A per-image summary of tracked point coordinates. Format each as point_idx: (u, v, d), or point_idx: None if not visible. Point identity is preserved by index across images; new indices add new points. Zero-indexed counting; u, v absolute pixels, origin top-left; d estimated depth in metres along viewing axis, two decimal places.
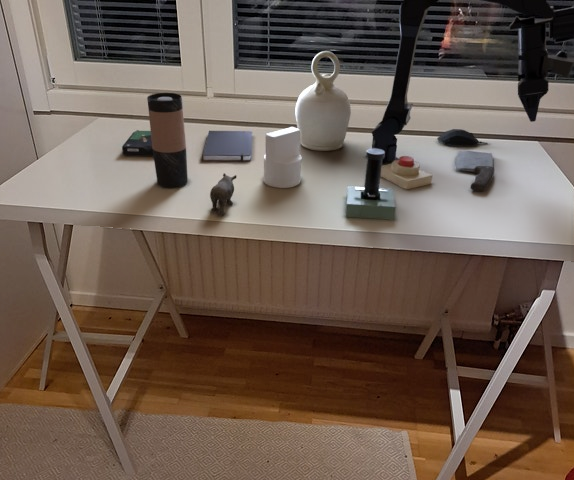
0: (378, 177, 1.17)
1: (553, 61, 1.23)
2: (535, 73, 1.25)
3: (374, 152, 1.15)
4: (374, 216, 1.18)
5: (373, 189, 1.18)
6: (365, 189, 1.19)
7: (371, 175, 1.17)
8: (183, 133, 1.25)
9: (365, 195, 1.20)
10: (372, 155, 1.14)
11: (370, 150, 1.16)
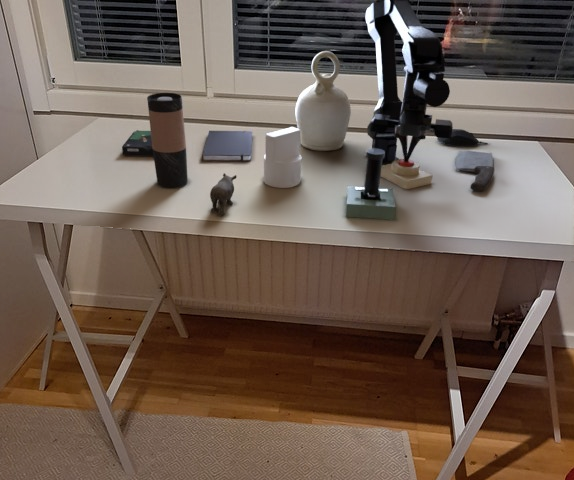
0: (378, 177, 1.17)
1: (402, 114, 1.26)
2: None
3: (374, 152, 1.15)
4: (374, 216, 1.18)
5: (373, 189, 1.18)
6: (365, 189, 1.19)
7: (371, 175, 1.17)
8: (183, 133, 1.25)
9: (365, 195, 1.20)
10: (372, 155, 1.14)
11: (370, 150, 1.16)
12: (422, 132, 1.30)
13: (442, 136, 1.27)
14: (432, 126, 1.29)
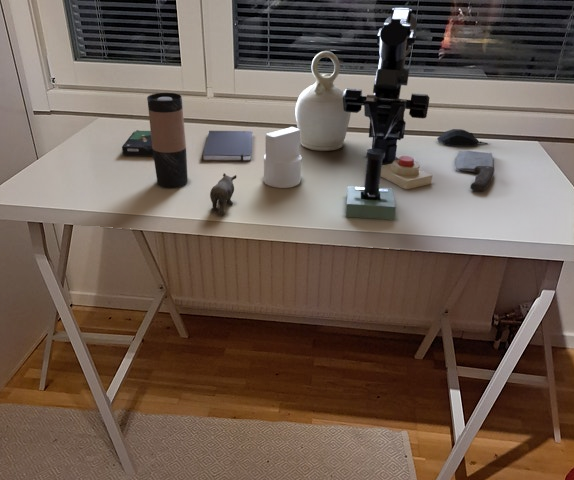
0: (378, 177, 1.17)
1: None
2: (374, 93, 1.23)
3: (374, 152, 1.15)
4: (374, 216, 1.18)
5: (373, 189, 1.18)
6: (365, 189, 1.19)
7: (371, 175, 1.17)
8: (183, 133, 1.25)
9: (365, 195, 1.20)
10: (372, 155, 1.14)
11: (370, 150, 1.16)
12: None
13: (419, 101, 1.19)
14: (407, 101, 1.22)
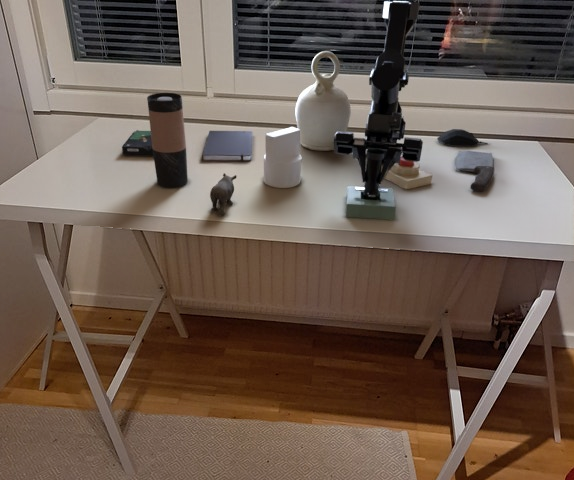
0: (378, 177, 1.17)
1: None
2: (366, 136, 1.20)
3: (374, 152, 1.15)
4: (374, 216, 1.18)
5: (373, 189, 1.18)
6: (365, 189, 1.19)
7: (371, 175, 1.17)
8: (183, 133, 1.25)
9: (365, 195, 1.20)
10: (372, 155, 1.14)
11: (370, 150, 1.16)
12: (397, 149, 1.17)
13: (412, 146, 1.15)
14: (400, 145, 1.18)
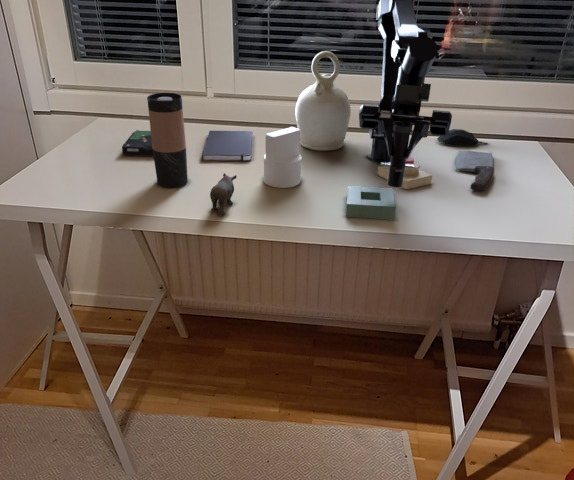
0: (405, 151, 1.14)
1: None
2: (392, 109, 1.16)
3: (402, 125, 1.11)
4: (374, 216, 1.18)
5: (400, 164, 1.15)
6: (391, 164, 1.16)
7: (398, 149, 1.13)
8: (183, 133, 1.25)
9: (391, 170, 1.16)
10: (400, 128, 1.10)
11: (398, 123, 1.12)
12: None
13: (441, 118, 1.11)
14: (428, 118, 1.14)
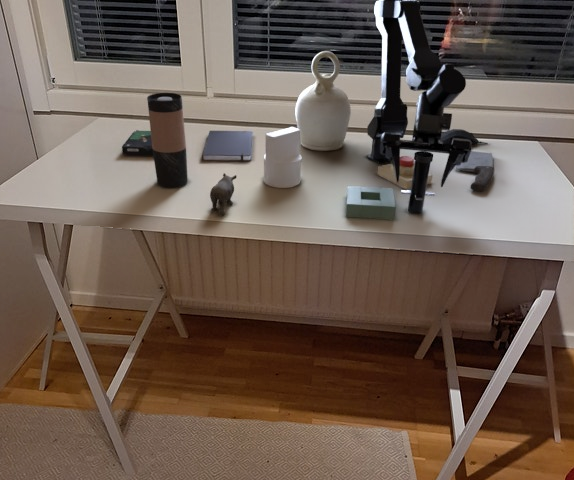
0: (426, 180, 1.16)
1: None
2: (413, 137, 1.19)
3: (423, 155, 1.14)
4: (374, 216, 1.18)
5: (420, 192, 1.18)
6: (412, 192, 1.18)
7: (419, 178, 1.16)
8: (183, 133, 1.25)
9: (412, 198, 1.19)
10: (421, 158, 1.13)
11: (419, 153, 1.15)
12: None
13: (462, 147, 1.14)
14: (448, 146, 1.17)
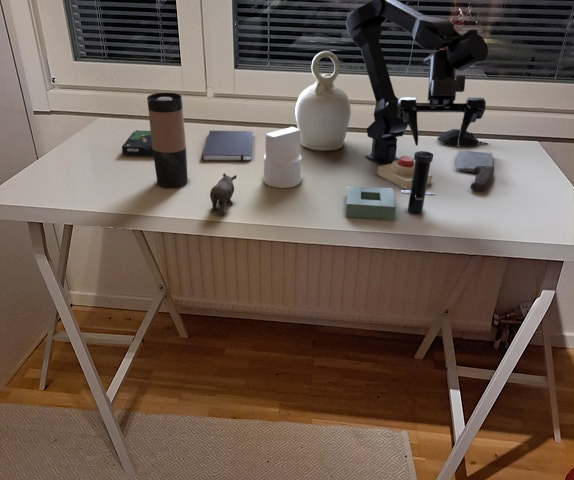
0: (426, 180, 1.16)
1: (432, 84, 1.20)
2: (428, 99, 1.24)
3: (423, 155, 1.14)
4: (374, 216, 1.18)
5: (420, 192, 1.18)
6: (412, 192, 1.18)
7: (419, 178, 1.16)
8: (183, 133, 1.25)
9: (412, 198, 1.19)
10: (421, 158, 1.13)
11: (419, 153, 1.15)
12: (474, 110, 1.21)
13: (476, 106, 1.19)
14: (463, 105, 1.22)
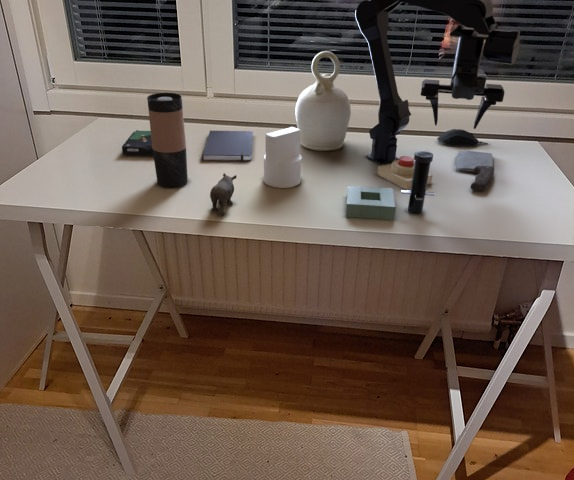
0: (426, 180, 1.16)
1: (454, 77, 1.26)
2: (451, 82, 1.30)
3: (423, 155, 1.14)
4: (374, 216, 1.18)
5: (420, 192, 1.18)
6: (412, 192, 1.18)
7: (419, 178, 1.16)
8: (183, 133, 1.25)
9: (412, 198, 1.19)
10: (421, 158, 1.13)
11: (419, 153, 1.15)
12: None
13: (494, 100, 1.27)
14: (483, 90, 1.29)
